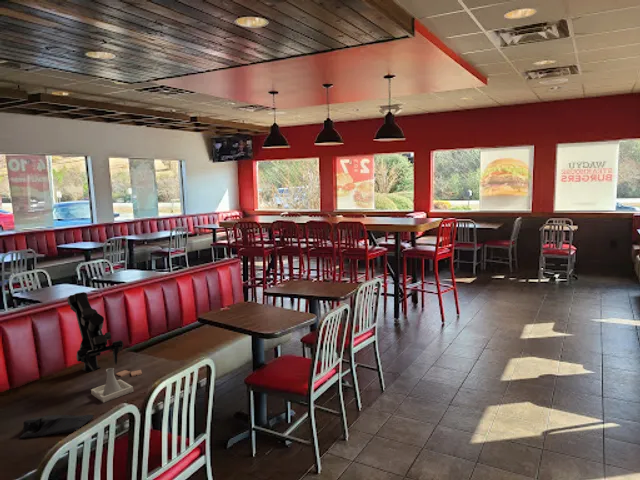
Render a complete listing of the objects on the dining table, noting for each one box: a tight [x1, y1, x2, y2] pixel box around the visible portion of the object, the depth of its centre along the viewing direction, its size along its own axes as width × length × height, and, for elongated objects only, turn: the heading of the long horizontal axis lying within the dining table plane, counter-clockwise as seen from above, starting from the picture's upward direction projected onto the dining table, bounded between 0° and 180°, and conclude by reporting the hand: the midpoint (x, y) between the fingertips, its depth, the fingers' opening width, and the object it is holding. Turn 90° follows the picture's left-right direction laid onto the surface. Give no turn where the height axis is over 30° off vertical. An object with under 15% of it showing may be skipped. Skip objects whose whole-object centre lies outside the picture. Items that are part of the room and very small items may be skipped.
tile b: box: [130, 369, 143, 377], centre depth 220 cm, size 4×4×1 cm
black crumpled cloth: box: [19, 414, 95, 439], centre depth 174 cm, size 15×22×5 cm
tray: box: [90, 378, 134, 404], centre depth 200 cm, size 13×13×2 cm
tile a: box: [115, 369, 131, 378], centre depth 221 cm, size 4×4×1 cm
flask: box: [103, 367, 122, 395], centre depth 199 cm, size 7×7×10 cm
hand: (105, 367), depth 206 cm, fingers open, 9 cm apart
